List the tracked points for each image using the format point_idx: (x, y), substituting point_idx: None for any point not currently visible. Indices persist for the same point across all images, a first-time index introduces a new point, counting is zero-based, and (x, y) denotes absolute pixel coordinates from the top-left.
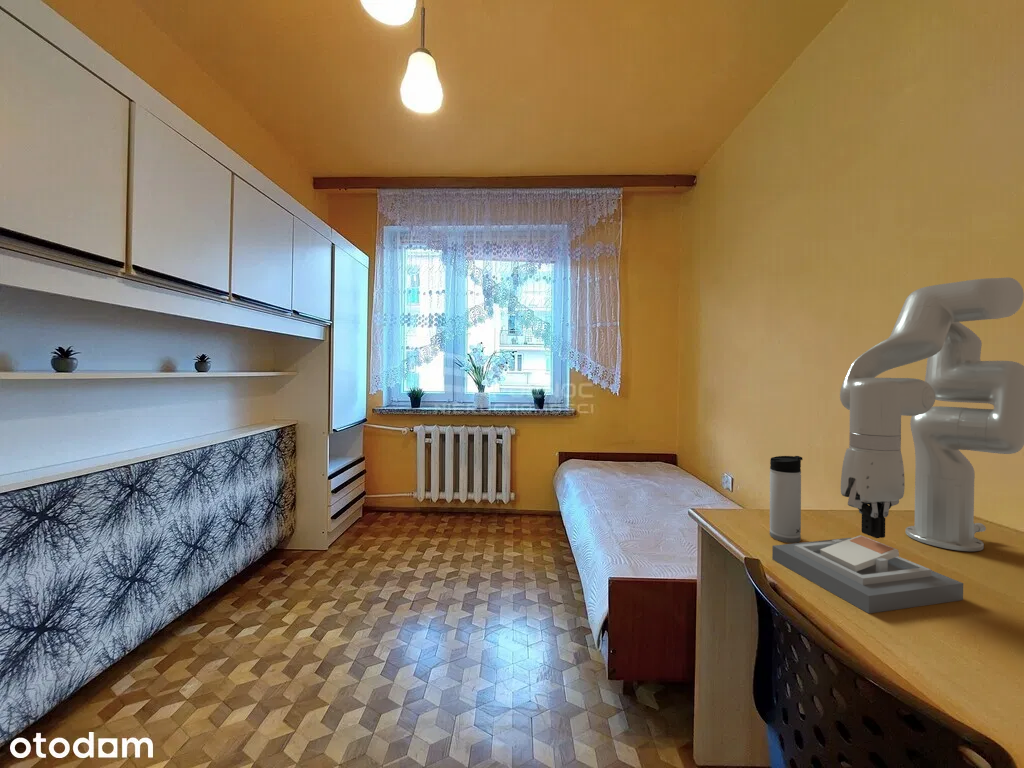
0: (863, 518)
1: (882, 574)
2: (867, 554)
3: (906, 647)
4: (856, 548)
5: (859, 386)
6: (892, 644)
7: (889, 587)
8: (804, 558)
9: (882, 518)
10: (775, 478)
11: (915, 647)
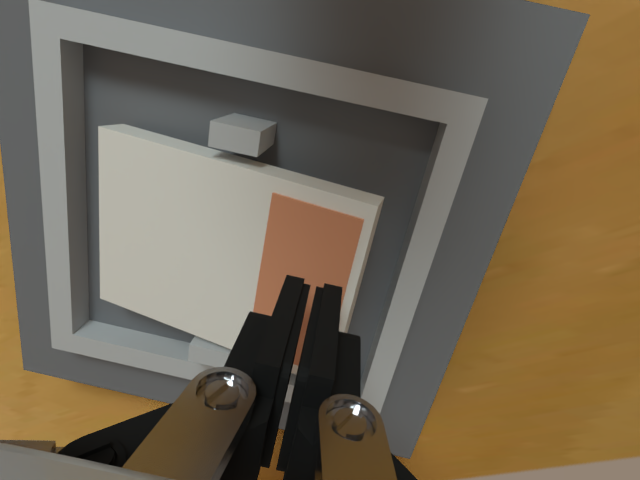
0: (224, 366)
1: (153, 363)
2: (206, 305)
3: (23, 421)
4: (222, 251)
5: None
6: (2, 406)
7: (142, 374)
8: (30, 99)
9: (284, 477)
10: None
11: (42, 429)
